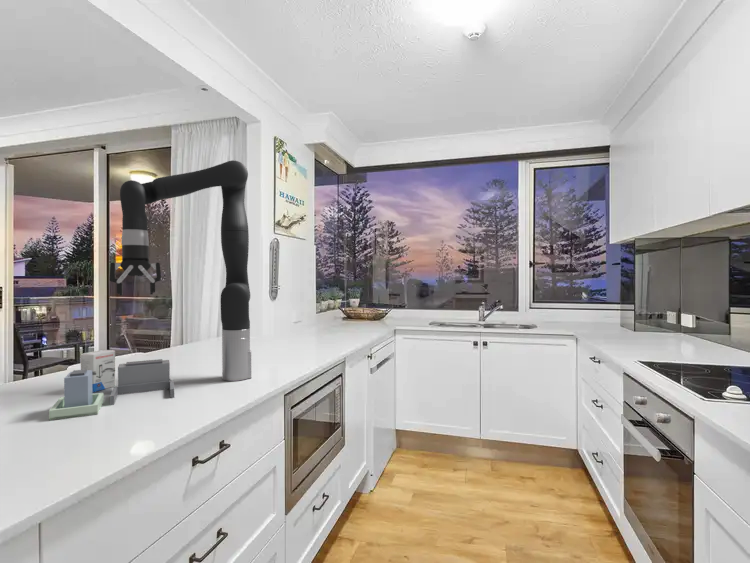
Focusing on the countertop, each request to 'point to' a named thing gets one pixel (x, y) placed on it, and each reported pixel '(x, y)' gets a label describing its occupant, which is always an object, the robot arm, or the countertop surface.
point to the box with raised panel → (78, 388)
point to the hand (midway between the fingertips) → (136, 294)
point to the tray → (76, 408)
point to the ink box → (100, 368)
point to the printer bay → (143, 378)
